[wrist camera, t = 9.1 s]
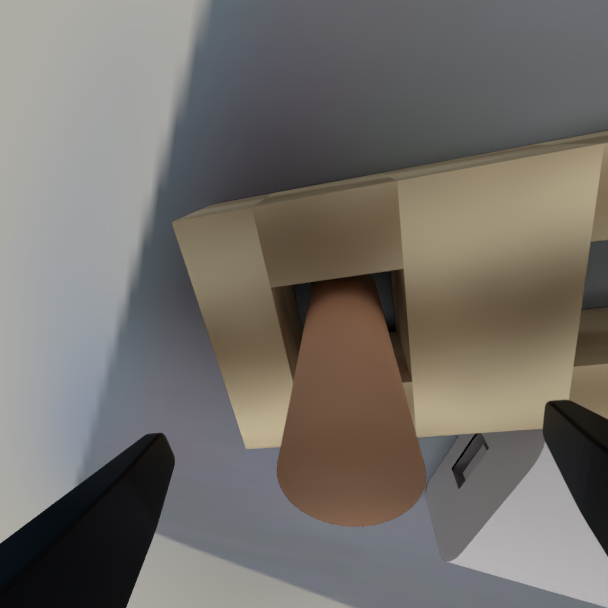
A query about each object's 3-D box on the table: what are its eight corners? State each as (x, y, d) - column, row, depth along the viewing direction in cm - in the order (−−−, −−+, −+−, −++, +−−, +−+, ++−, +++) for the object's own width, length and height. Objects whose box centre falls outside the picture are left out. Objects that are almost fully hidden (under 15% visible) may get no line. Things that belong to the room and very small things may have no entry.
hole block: (687, 351, 16) (792, 411, 12) (264, 391, 19) (246, 449, 15) (758, 102, 12) (942, 81, 8) (211, 204, 15) (171, 222, 11)
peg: (379, 317, 16) (429, 524, 7) (317, 325, 17) (292, 528, 8) (372, 257, 15) (421, 414, 6) (306, 267, 16) (262, 426, 7)
